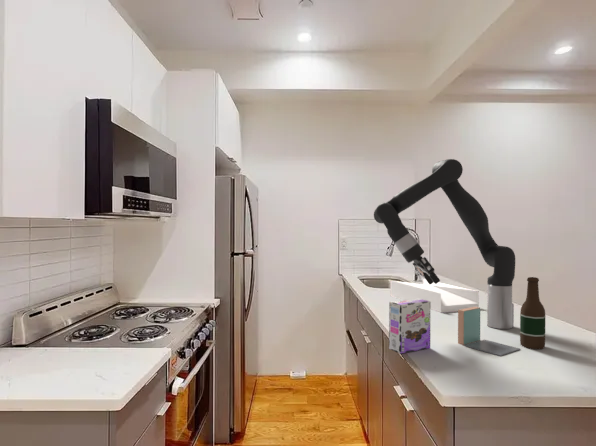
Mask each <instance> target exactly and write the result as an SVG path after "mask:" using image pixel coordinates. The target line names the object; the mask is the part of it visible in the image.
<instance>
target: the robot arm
mask: <svg viewBox="0 0 596 446" xmlns="http://www.w3.org/2000/svg"><path fill="white" fill-rule="evenodd" d="M431 170H432V171H431V174H430V175H427V176H426V177H425V178H423V179H421V180H418V181H416V182H414V183H413V184H411V185H409V186H407V187H406V188H404V189H403V190H400V191H399V192H398V193H396V194H395V195H394V196H392V198H390V200H388V201H386V202H381V203H380V204H379V205H377V207H376V208H375V209H374V211H373V218H374V220H375V221H376V222H377V223H379V224H383V225H384V226H385V228H386V229H387V230H386V231H387V235H388V236H389V239H391V240H392V242H393V243H394V245H395V247H396V249H397V250H398V251H399V253H400V254H401V256H402V257H403V258H404V259H405V261H406V262H407V263H408V264H410V263H412V265H413V267H414V268H415V269H416V270H417V272H418V273H419V275H420V276H421V277H423V279H426V280H427V282H428V283H429V284H432V283H433V282H434V283H435V284H437V283H438V282H440V283H441V279H440V278H439V277H438V275H437V273H435V268H434V267H433V265H432V264H431V263H430V261H429V260H428V258H426V256H424V257H423V256H422V255H423V254H424V253H425V250H424V249H423V247H421V245H420V243H419V241H417V239H416V238H415V237H414V236H413V235H412V234H411V233H410V231H409V230H408V229H407V227H406V225H404V224H403V222H402V220H401V218H400V216H399V215H400V213H402V212H404V211H405V210H407V209H409V208H410V207H412V206H413V205H415V204H416V203H417V202H419V201H420V200H422V199H424V198H426V197H427V196H428V195H430V194H431V193H433V192H435V191H436V190H438V189H442V191H443V193H445V195H446V197H448V199H449V201H450V203H451V205H452V207H453V208H454V209H455V211H456V213H457V215H458V216H459V218H460V219H461V222H462V223H463V225H464V226H465V227H466V229H467V231H468V232H469V234H470V235H471V238H473V240H474V243H476V245H477V248H478V250H479V252H480V254H481V256H482V258H483V260H484V262H485V263H486V265H488V266H489V267H491V268H493V273H492V275H490V276H488V277H487V296H486V297H487V304H486V305H487V307H486V310H487V311H486V314H487V315H486V320H487V321H486V324H487V326H488V327H490V328H493V329H500V330H510V329H512V328H514V327H515V324H514V321H515V319H514V317H515V316H514V315H515V314H514V313H515V312H514V310H515V304H514V303H513V281H514V280H515V273H516V255H515V251H514V249H512V248H511V247H509V246H505V245H498V243H497V242H496V241H495V239H494V238H493V236H492V234H491V232H490V227H489V218H488V216H487V213H486V212H485V210H484V208H483V206H482V205H481V204H480V202H479V201H478V200H477V199H476V198H475V197H474V196H473V195H471V194H470V192H468V191H467V190H466V189H465V188H463V186H462V184H461V183H460V181H459V179H460V178H461V176H462V175H463V171H464V169H463V166H462V163H461V162H460V161H459V160H457V159H455V158H448V159H444V160H440V161H437V162H436V163H434V164H433V166H432V169H431Z"/></svg>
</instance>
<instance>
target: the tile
mask: <svg viewBox="0 0 596 446" xmlns="http://www.w3.org/2000/svg"><path fill="white" fill-rule="evenodd" d="M478 341H481V307H470V308H465V309H460V310H458V311H457V343H458V344H459V345H462V346H465V345H467V344H470V343H474V342H478Z"/></svg>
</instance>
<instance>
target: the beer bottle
mask: <svg viewBox="0 0 596 446" xmlns="http://www.w3.org/2000/svg"><path fill="white" fill-rule="evenodd" d="M526 281H527V288H526V297H525V298H526V299H525V301H524V302H523V303H522V305H521V307H520V317H519V318H520V319H519V321H520V322H519V331H520V332H519V336H520V337H519V342H520V346H521V345H522V347H523V346H524V347H523V348H525V347H526V349H530V348H531V350H543V349H544V348H545V346H546V309H545V307H544V305H543V304H542V302H541V300H540V291H539V290H540V289H539V282H540V279H539V278H538V277H534V276H533V277H531V276H529V277H527V279H526Z"/></svg>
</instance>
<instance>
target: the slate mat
mask: <svg viewBox="0 0 596 446" xmlns="http://www.w3.org/2000/svg"><path fill="white" fill-rule="evenodd" d="M464 347H466V348H470V349H473V350H475V351H476V350H477V351H480V352H484V353H488V354H490V355H494V356H498V357H502V356H506V355H508V354H512V353H515V352H518V351H521V348H519V347H516V346H511V345H509V344H504V343H499V342H496V341H492V340H489V339H480V341H476V342H472V343H469V344H465V345H464Z"/></svg>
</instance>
